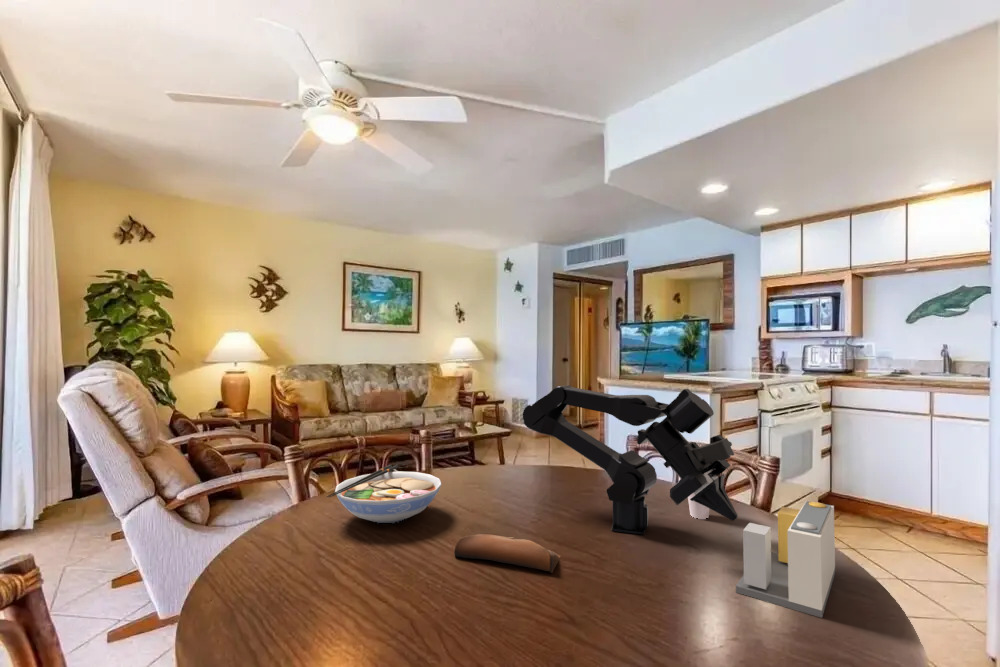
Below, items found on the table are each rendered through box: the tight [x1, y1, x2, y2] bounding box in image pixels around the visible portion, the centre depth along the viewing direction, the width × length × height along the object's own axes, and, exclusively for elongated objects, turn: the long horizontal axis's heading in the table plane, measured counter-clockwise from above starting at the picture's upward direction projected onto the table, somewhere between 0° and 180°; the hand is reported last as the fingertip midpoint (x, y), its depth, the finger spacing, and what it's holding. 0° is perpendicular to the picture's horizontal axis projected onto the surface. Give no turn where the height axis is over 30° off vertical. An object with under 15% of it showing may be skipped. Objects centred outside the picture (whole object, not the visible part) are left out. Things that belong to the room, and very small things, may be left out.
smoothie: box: [687, 493, 710, 520], centre depth 108 cm, size 6×6×14 cm
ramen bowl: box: [326, 464, 443, 524], centre depth 107 cm, size 25×23×8 cm
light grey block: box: [742, 522, 772, 589], centre depth 75 cm, size 3×4×8 cm
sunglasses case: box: [454, 533, 562, 575], centre depth 87 cm, size 18×7×7 cm, turn 68°
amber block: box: [777, 506, 800, 563], centre depth 83 cm, size 3×4×8 cm
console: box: [735, 500, 836, 619], centre depth 78 cm, size 11×17×12 cm, turn 141°
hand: (735, 518), depth 88 cm, fingers closed
